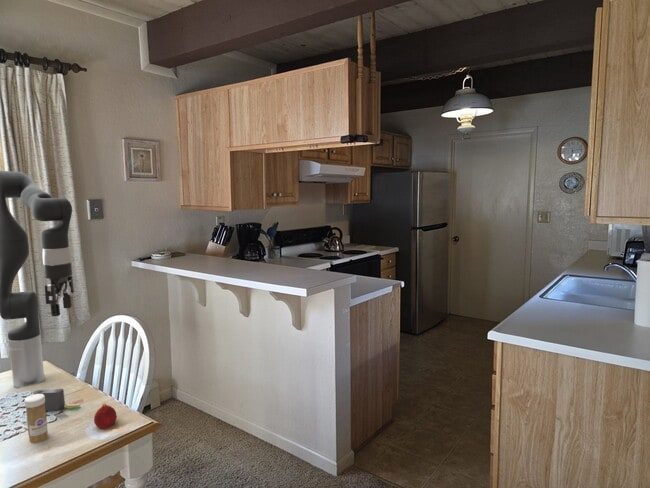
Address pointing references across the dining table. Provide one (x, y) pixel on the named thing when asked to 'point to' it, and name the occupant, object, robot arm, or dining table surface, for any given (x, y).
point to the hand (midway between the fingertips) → (62, 311)
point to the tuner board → (69, 409)
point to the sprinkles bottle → (36, 418)
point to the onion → (105, 417)
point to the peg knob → (54, 399)
